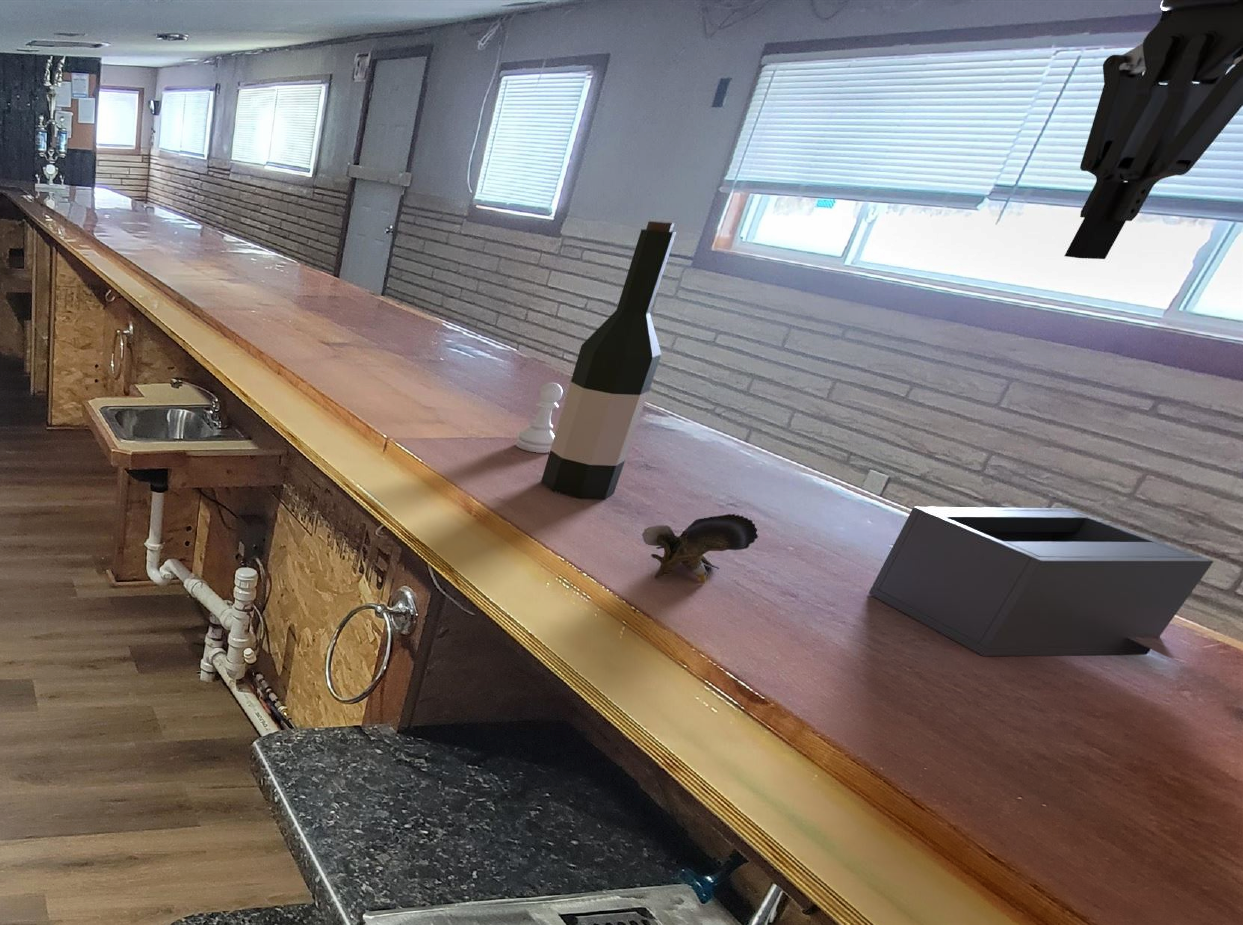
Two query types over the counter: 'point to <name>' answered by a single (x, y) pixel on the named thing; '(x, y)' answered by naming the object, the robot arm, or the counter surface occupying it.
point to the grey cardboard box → (1035, 580)
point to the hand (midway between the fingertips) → (1084, 257)
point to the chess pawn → (541, 422)
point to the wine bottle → (611, 381)
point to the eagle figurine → (699, 542)
